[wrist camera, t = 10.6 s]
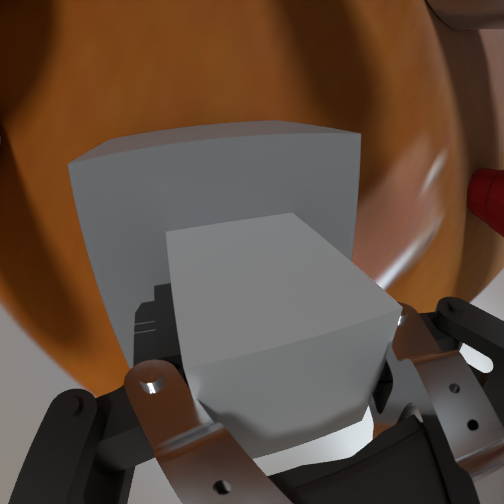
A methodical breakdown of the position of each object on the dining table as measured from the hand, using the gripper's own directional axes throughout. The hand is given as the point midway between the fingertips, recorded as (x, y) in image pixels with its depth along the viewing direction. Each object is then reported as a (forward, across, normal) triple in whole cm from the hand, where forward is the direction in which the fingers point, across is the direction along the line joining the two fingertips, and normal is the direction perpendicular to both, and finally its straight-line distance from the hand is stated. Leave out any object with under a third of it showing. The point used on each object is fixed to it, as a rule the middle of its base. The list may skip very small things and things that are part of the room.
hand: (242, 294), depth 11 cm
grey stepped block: (+10, 0, 0) cm, 10 cm away
